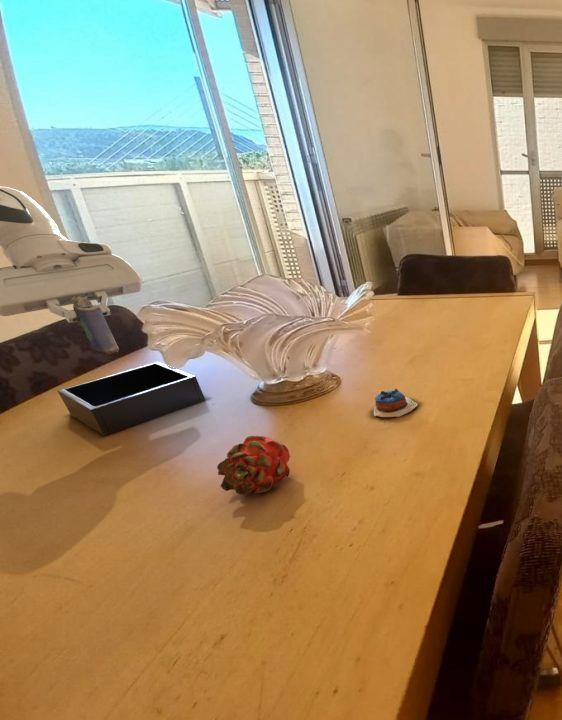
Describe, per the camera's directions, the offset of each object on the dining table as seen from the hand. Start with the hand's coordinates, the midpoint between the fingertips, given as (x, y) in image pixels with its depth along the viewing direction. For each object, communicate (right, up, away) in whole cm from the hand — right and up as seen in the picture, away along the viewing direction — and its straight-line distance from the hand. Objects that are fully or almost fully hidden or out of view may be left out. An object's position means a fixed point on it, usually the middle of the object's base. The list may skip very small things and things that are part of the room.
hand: (90, 317), depth 90 cm
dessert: (+57, -18, +3) cm, 60 cm away
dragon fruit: (+47, -27, -18) cm, 57 cm away
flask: (0, -6, +3) cm, 7 cm away
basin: (+3, -18, +6) cm, 19 cm away
